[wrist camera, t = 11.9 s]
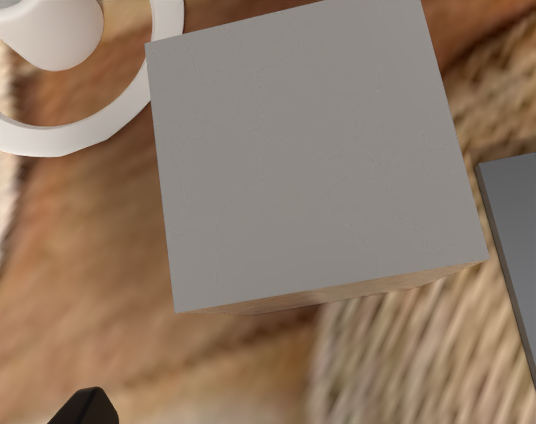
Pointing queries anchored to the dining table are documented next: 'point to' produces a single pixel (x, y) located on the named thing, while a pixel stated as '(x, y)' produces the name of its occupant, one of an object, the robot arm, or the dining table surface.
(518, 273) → the slate board
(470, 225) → the steel cover
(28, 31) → the candle holder
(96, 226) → the dining table surface
